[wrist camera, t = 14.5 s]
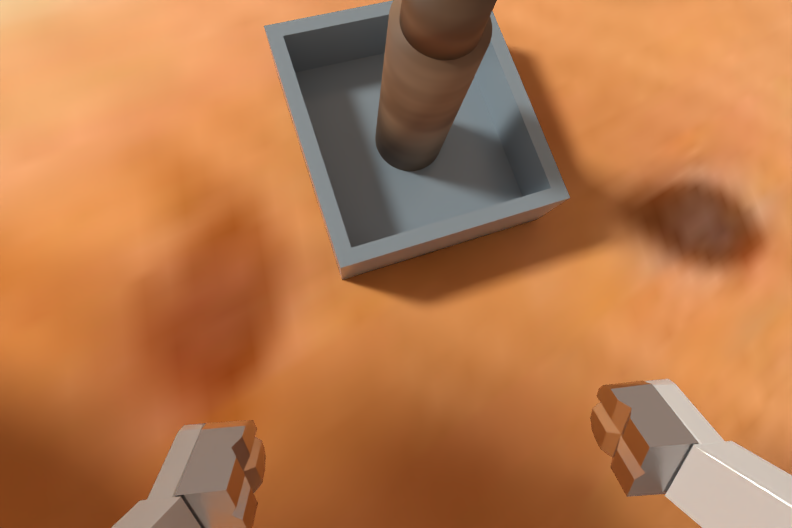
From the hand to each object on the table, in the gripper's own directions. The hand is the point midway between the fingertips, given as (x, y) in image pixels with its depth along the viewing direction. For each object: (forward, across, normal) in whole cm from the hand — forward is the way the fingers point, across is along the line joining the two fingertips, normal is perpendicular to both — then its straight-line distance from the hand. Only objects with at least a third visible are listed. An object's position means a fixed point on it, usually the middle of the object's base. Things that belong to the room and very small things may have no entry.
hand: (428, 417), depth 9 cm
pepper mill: (+18, -1, -2) cm, 18 cm away
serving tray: (+19, -1, -1) cm, 19 cm away
